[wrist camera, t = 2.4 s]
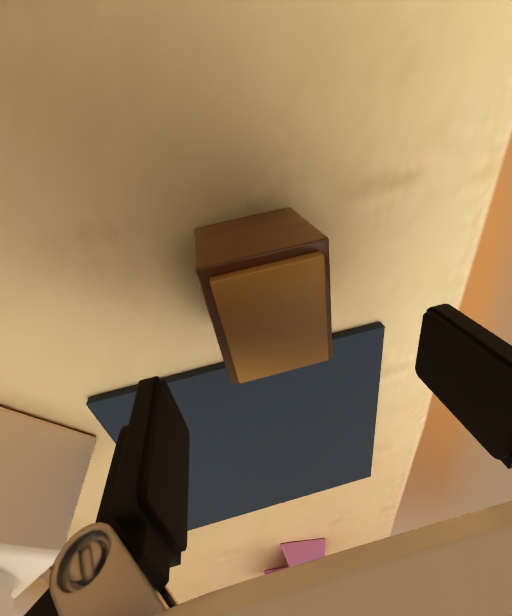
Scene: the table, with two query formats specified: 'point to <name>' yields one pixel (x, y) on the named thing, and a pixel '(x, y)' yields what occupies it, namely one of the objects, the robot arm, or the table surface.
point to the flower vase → (31, 594)
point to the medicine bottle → (36, 496)
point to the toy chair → (301, 552)
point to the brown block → (266, 292)
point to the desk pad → (271, 428)
